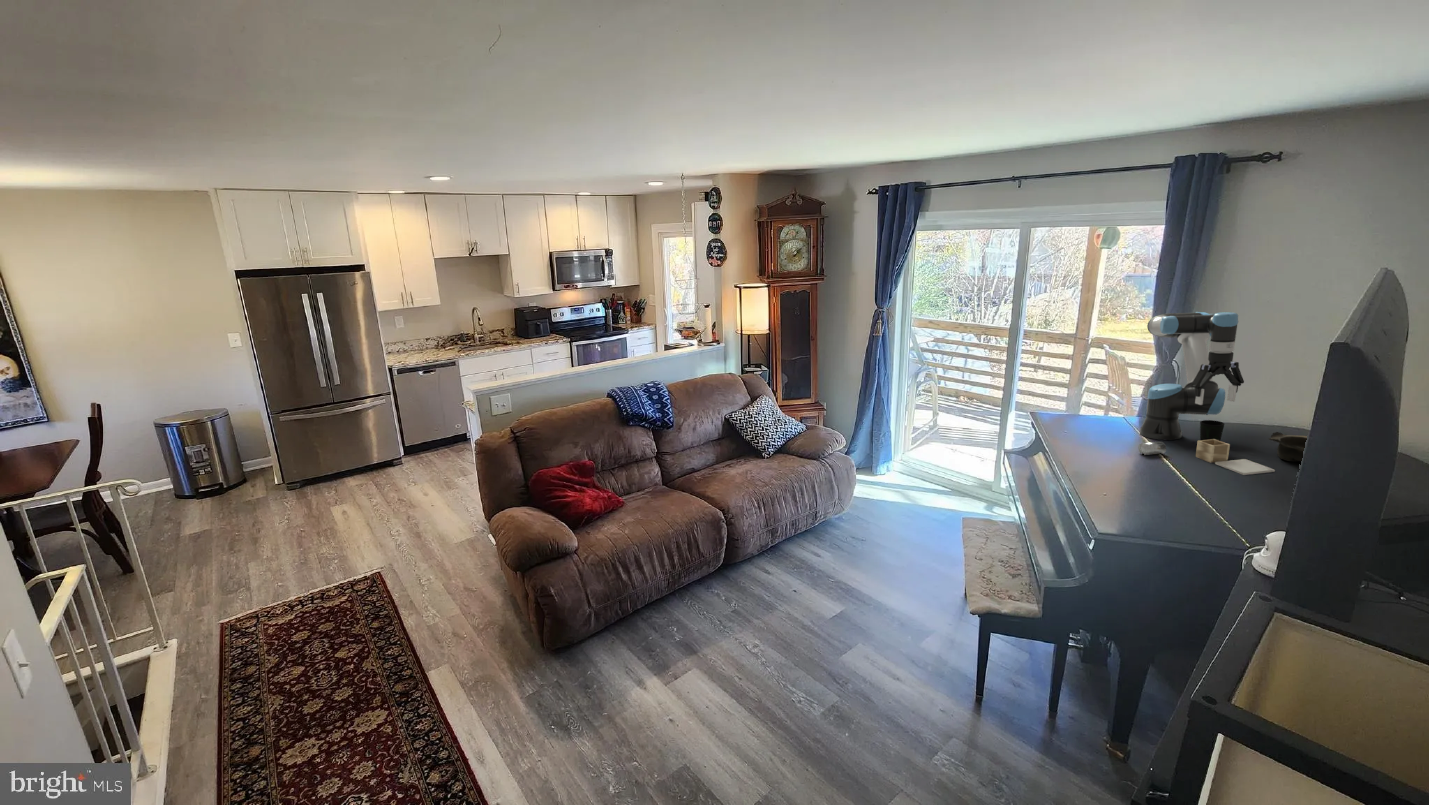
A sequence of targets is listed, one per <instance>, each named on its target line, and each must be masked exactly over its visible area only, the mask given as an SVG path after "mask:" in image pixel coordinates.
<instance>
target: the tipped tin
mask: <svg viewBox="0 0 1429 805" xmlns="http://www.w3.org/2000/svg"><path fill="white" fill-rule="evenodd" d="M1138 452H1139V454H1140V453H1142V454H1144V455H1143V456H1151V455H1158V454H1160V453H1161V454H1165V453H1166V452H1167V445H1166V444H1165V442H1163V441H1154V442H1153V441H1151V442H1145V443H1143V442H1142V443H1139V445H1138ZM1142 454H1141V455H1142Z"/></svg>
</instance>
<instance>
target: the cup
mask: <svg viewBox="0 0 1429 805" xmlns="http://www.w3.org/2000/svg"><path fill="white" fill-rule="evenodd" d="M1199 426H1200V427H1199V434H1200V435H1199V437H1200V438H1199V441H1200V440H1210V439H1216V440H1219V441H1221V438H1222V435H1223V431H1224V428H1225V422H1224V421H1223V422H1222V421H1220V420H1214V419H1203V420H1200V423H1199Z"/></svg>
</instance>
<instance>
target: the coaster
mask: <svg viewBox="0 0 1429 805" xmlns="http://www.w3.org/2000/svg"><path fill="white" fill-rule="evenodd" d="M1214 464H1215V465H1217V466H1219V467H1222V468H1224V469H1226V470H1230V471H1233V472H1235V473H1237V474H1240V475H1242V476H1246V475H1255V474H1265V473H1267V474H1268V473H1275V471H1276V470H1275V469H1273V468H1272V467H1268V466H1267V465H1263V464H1260V463H1257V462H1254V461H1252V460H1250V459H1249V460H1248V459H1246V458H1241V459H1234V460H1233V459H1232V460H1228V461H1221V462H1214Z"/></svg>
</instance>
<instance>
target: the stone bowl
mask: <svg viewBox="0 0 1429 805" xmlns="http://www.w3.org/2000/svg"><path fill="white" fill-rule="evenodd" d="M1268 440H1270V441H1273V442H1275V443H1278V446H1277V448H1276V452H1277V454H1276V455H1277V457H1278V458H1279V459H1281V460H1283V461H1287V462H1303V461H1302V458H1303V451H1304V448H1305V442H1306V440H1307V435H1295V434H1287V435H1286V434H1284V433H1282V432H1279V431H1276V432H1273V433H1272V434H1271V436H1270V437H1268Z"/></svg>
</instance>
